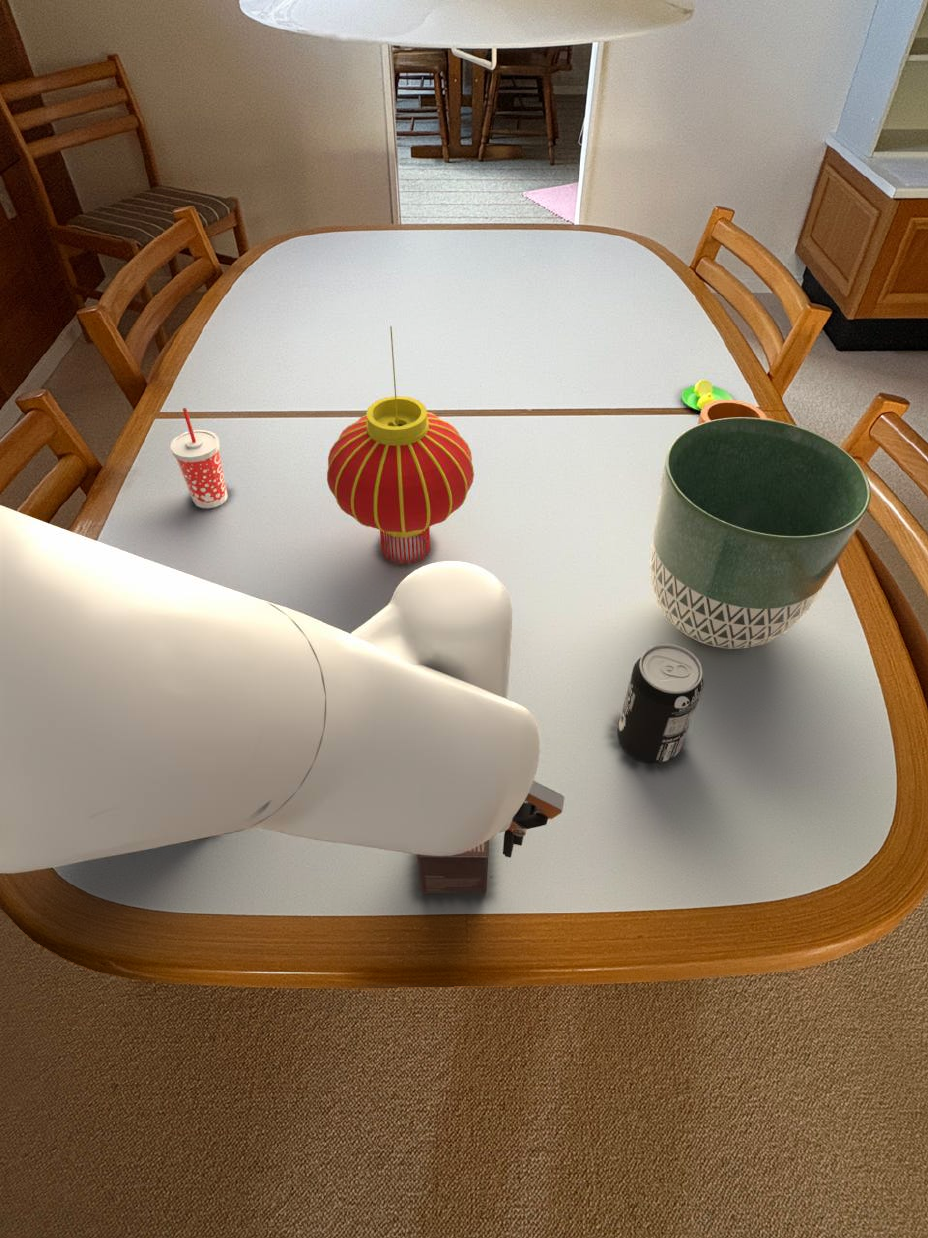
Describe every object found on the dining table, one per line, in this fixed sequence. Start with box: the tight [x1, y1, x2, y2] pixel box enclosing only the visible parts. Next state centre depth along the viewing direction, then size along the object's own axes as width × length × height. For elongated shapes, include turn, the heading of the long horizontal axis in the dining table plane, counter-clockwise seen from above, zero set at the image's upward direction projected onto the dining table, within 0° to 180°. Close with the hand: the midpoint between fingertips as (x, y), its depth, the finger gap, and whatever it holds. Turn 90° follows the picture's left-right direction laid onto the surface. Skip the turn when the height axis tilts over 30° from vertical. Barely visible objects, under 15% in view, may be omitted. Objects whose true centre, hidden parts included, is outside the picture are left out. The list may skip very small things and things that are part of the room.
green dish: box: [681, 379, 734, 412], centre depth 124 cm, size 8×8×3 cm
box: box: [416, 839, 490, 894], centre depth 69 cm, size 6×6×7 cm
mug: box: [697, 399, 776, 425], centre depth 109 cm, size 9×12×9 cm
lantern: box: [326, 325, 475, 565], centre depth 90 cm, size 17×17×30 cm
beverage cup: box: [170, 407, 228, 509], centre depth 103 cm, size 6×6×14 cm
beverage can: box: [616, 643, 705, 765], centre depth 77 cm, size 7×7×12 cm
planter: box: [649, 417, 872, 650], centre depth 85 cm, size 20×20×21 cm
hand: (456, 828), depth 68 cm, fingers open, 9 cm apart
